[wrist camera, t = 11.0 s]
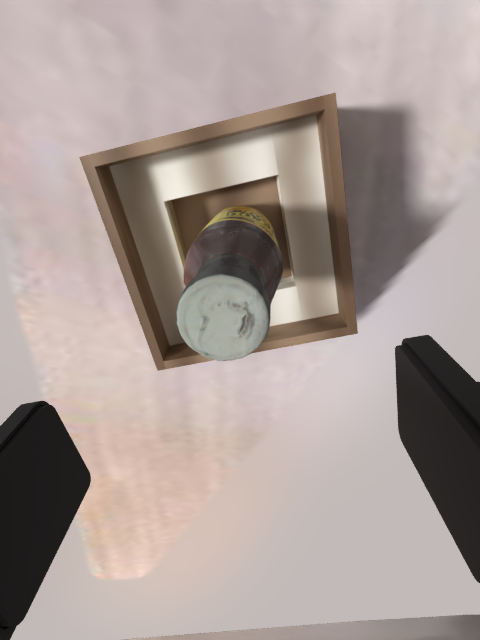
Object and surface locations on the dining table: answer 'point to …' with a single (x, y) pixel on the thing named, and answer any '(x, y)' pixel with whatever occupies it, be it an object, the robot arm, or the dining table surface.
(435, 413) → the robot arm
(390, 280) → the dining table surface
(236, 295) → the sauce bottle
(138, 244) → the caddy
